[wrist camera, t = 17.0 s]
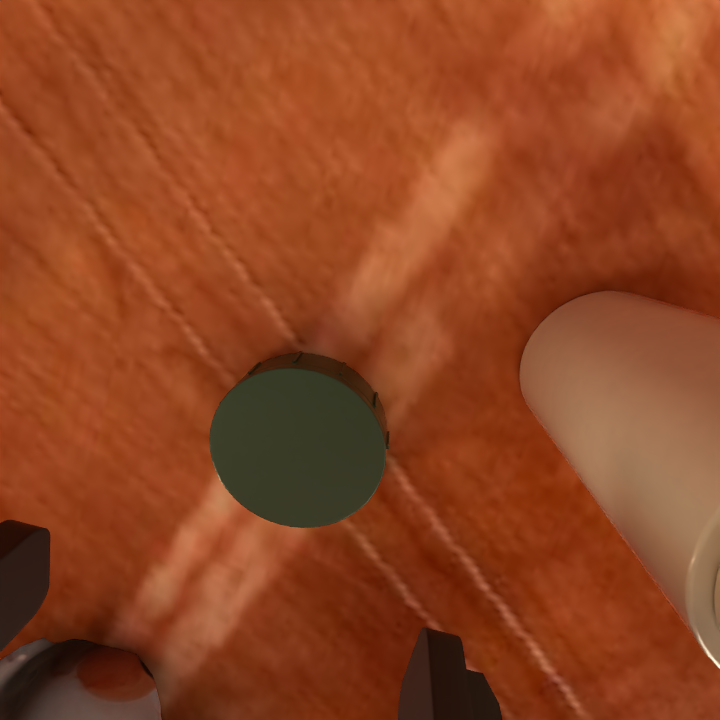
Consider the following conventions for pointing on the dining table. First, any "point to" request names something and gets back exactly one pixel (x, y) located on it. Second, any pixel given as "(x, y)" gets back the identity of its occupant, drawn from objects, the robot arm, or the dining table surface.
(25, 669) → the lucky cat figurine
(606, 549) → the dining table surface
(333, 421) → the lid
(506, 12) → the dining table surface
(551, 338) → the jar
